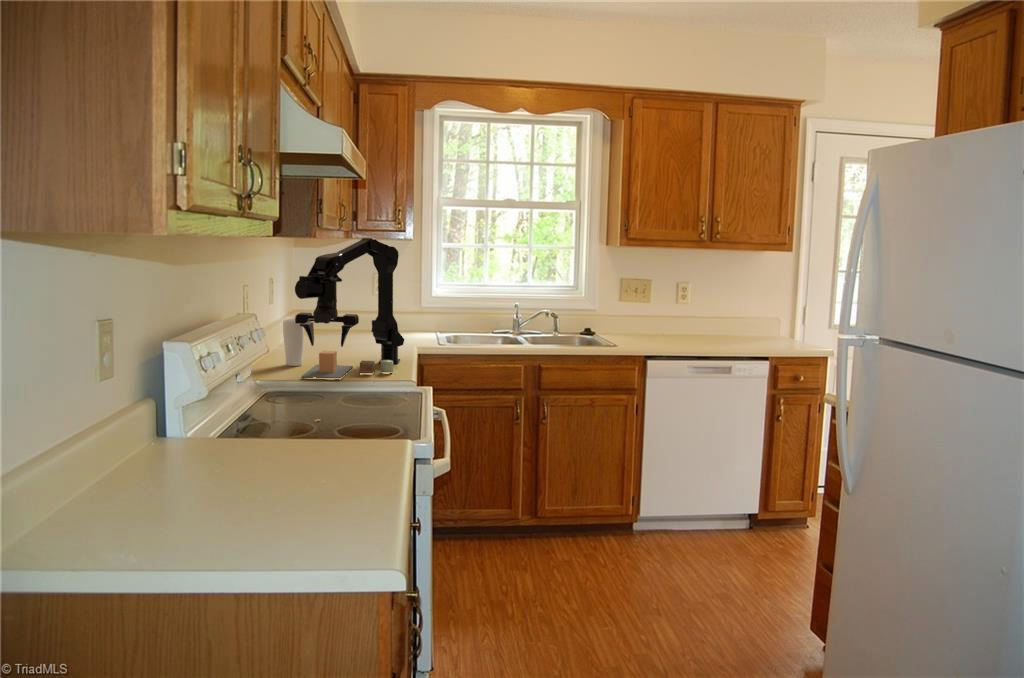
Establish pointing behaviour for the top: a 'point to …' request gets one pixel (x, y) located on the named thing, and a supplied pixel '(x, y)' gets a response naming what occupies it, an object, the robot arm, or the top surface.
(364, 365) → the walnut block
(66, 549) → the top surface
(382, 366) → the sage cylinder
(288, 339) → the drinking glass
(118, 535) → the top surface
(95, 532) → the top surface
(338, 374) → the slate mat
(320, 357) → the terracotta block
